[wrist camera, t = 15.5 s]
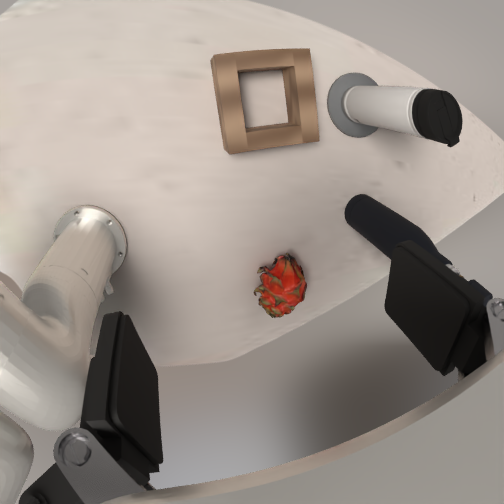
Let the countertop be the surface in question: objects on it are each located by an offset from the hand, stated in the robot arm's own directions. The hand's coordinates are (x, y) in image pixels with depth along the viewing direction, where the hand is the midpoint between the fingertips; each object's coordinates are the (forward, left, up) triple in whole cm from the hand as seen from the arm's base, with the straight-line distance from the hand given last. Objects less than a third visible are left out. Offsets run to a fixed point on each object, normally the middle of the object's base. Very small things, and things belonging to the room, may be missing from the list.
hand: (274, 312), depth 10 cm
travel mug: (+4, -26, -36) cm, 44 cm away
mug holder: (+6, -10, -36) cm, 38 cm away
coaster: (+4, -26, -36) cm, 45 cm away
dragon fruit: (-24, -9, -36) cm, 44 cm away
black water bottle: (-15, -26, -36) cm, 47 cm away
